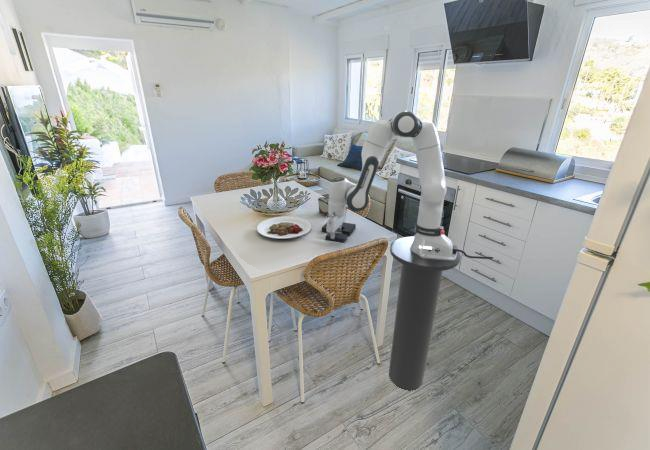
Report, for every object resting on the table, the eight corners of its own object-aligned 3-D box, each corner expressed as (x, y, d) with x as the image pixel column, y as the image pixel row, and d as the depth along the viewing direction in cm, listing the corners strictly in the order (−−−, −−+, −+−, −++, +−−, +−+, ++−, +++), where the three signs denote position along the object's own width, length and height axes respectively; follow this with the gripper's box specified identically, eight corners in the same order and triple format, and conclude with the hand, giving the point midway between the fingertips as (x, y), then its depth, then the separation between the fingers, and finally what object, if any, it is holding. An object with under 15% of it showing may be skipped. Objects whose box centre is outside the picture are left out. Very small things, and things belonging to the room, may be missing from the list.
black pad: (355, 228, 179) (355, 224, 178) (349, 236, 169) (349, 231, 168) (329, 224, 184) (329, 220, 183) (321, 231, 174) (321, 227, 173)
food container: (336, 216, 196) (337, 201, 192) (328, 218, 193) (329, 202, 189) (325, 210, 206) (325, 195, 202) (317, 212, 203) (317, 197, 199)
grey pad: (329, 235, 168) (329, 231, 167) (347, 238, 165) (347, 234, 164) (325, 240, 163) (325, 235, 162) (343, 243, 160) (343, 238, 159)
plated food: (259, 219, 188) (259, 214, 186) (310, 218, 190) (310, 213, 189) (254, 242, 160) (253, 236, 159) (312, 240, 163) (312, 234, 161)
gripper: (336, 217, 148) (334, 243, 153) (348, 204, 166) (347, 228, 171) (323, 215, 150) (322, 241, 155) (337, 203, 168) (336, 227, 173)
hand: (335, 234), depth 163 cm, fingers open, 8 cm apart
